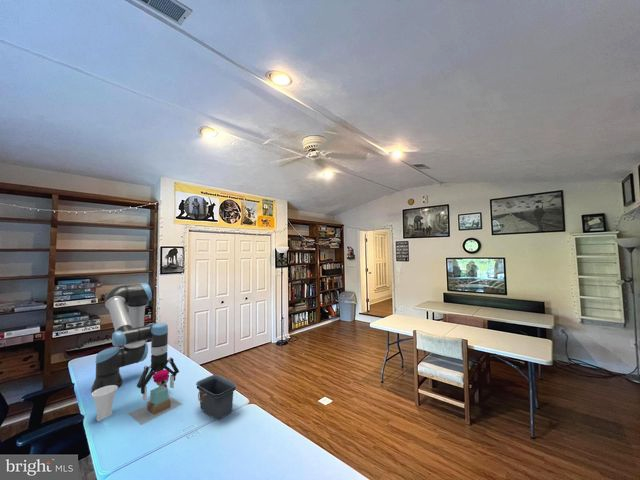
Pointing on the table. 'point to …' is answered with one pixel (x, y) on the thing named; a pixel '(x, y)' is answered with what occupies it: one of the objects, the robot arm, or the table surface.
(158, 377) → the toy
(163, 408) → the walnut brick
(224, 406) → the storage bin
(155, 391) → the teal brick
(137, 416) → the build plate
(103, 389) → the cup
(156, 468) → the table surface
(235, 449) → the table surface
